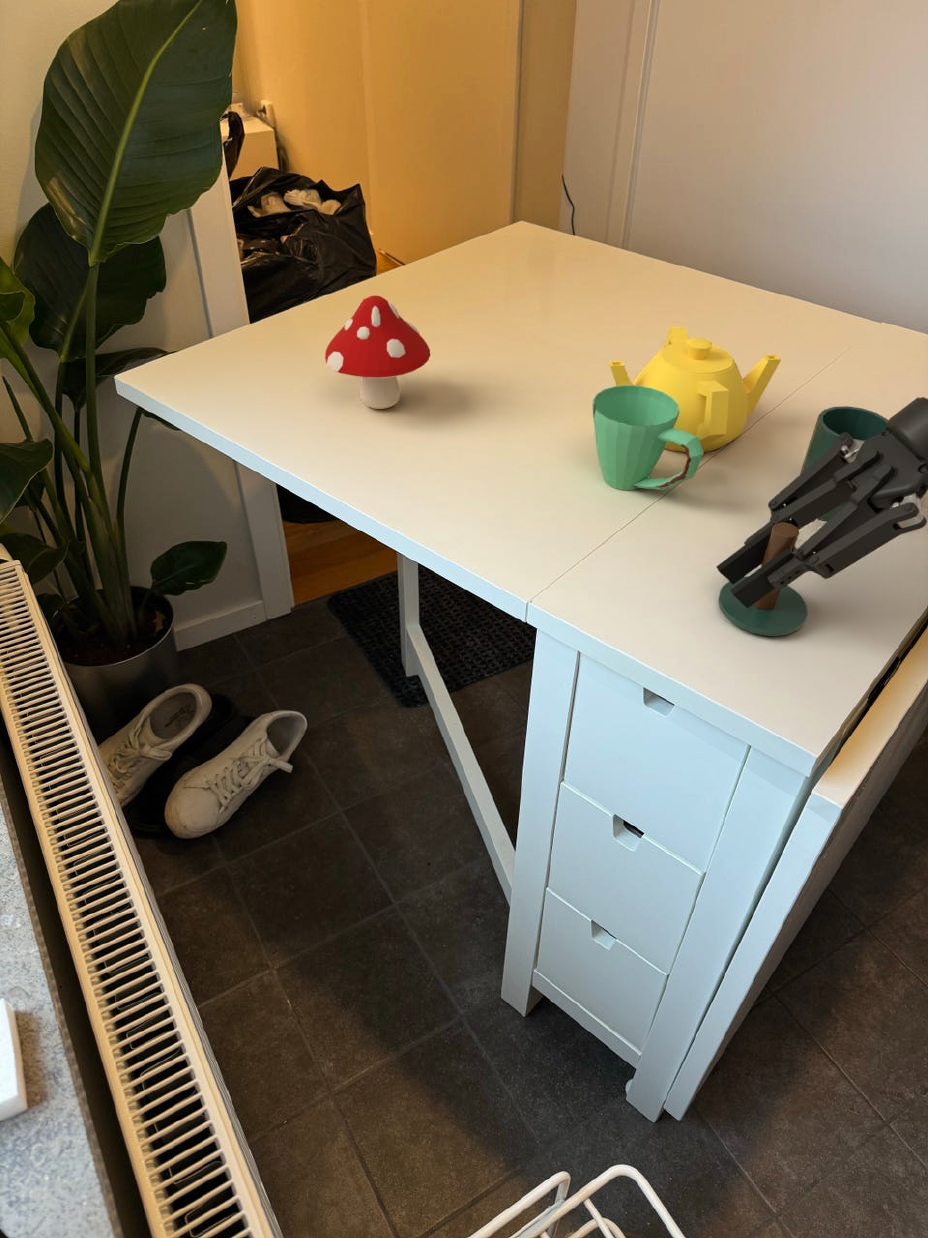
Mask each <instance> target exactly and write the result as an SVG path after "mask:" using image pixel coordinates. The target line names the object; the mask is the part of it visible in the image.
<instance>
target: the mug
mask: <svg viewBox="0 0 928 1238" xmlns="http://www.w3.org/2000/svg"><path fill="white" fill-rule="evenodd" d="M591 408H592V417H593V426H594V438H595V439H594V440H595V447H596V451H597V456H598V462H599V466H600V469H601V473H602V476H603V480H604V482H605V483H606V484H607V485H608V486H609V487H611V488H613V489H616V490H620V491H635V490H638V489H650V490H659V491H665V490H667V489H669V488H672V487H674V486H676V485H679V484H681V483H683V482H685V481H687V480H689V479H691V478H693V477H694V476H695V475H696V473H697V472H698V468H699V465H700V463H701V461H702V457H703V455H704V453H705V452H703V449H702V446H701V444H700V441H699V438H698V437H696V436H694V435H692V434H690V433H688V432H685V431H682V430H678V429H674V426H675V423H676V421H677V419H678V416H679V406H678V404H677V402H676V401H675V400H674V399H673V398H672V397H670V396H669V395H667V394H665V393H664V392H661V391H659V390H656V389H653V388H649V387H644V386H635V385H622V386H616V385H614V386H611V387H607V388H604V389H602V390H601V391H599V392H598V393H596V394H595V396H594V398H593V399H592V407H591ZM667 442H671V443H675V444H677V445H679V446H680V447H682V448H684V449H685V450H686V452H685V453H686V456H687V457H686V458H687V459H686V462H685V466H684V468H683V470H681V471H680V472H678V473H677V474H675V475H673V476H671V477H669V478H664V477H650V475H651V474H652V473H653V471H654V469H655V467H656V466H657V464H658V462H659V460H660V459H661V458H662V454H663V453H664V451H665V446H666V443H667Z"/></svg>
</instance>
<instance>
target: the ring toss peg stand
mask: <svg viewBox="0 0 928 1238" xmlns="http://www.w3.org/2000/svg"><path fill="white" fill-rule="evenodd" d="M799 535H800V529H799V530H798V528H797V527H796V526H794V525H792V524H790V523H784V522H781V523H777V524H775V525H774V526H773V529H772V532H771V535H770V539H769V542H768V545H767V549H766V552H765V555H764V558H763V562H762V564H761V565H760V568H761V567H762V566H763V565H765V564H766V563H767V562H769V561H770V560H772V559H773V558H774V557H776V556H777V555H778V554H780V553H781V552H782V551H784V550H785V549H787V548H788V549H789V550H790V551H791V547H792V546H794V547H796V545H797V541H798V539H799ZM748 576H749V575H746V576H744V577H743V578H742V579H740V580H739V581H738V582H736V583H735V584H734V585H733V584H732V583H731V582H730V581H729V580H728V582H726V583H725V584H724V585H723V586H722V588H721V589H720V591H719V595H718V599H717V600H718V606H719V609H720V611H721V613H722V614H723V615H724V616H725V618H726V619H727V620H728V621H729V622H731V623H732V624H734V625H735V626H737V627H739V628H740V629H742V630H745V631H747V632H750V633H753V634H757V635H761V636H769V637H770V636H771V637H779V636H785V635H790V634H793V633H794V632H797V631H798V630H799V629H800V628H801V627H803V625H804V624H805V622H806V619H807V617H808V606H807V603H806V600H805V599H804V598H803V597H802V595H801V594H800V593H799V592H798V591H796V590H795V589H794V588H792V587H791V586H789V584H788V585H787V586H786V587H785V588H783V589H780V590H777V589H776V588H775V589H774V590H772V591H771V592H770V593H768V594H767V595H765V596H764V597H763V598H761V599H760V600H758V601H757V602H756V603H754V604H753V605H751V606H750V607H749V608H746V607H745V606H744V605H743V604H742V603H741V602H740V601H739V600H738V599H737V598H736V597H735V596H734V595H733V594H732V592H731V591H730V590H731V589H732V588H733V587H735V586H736V585H738V584H739V583H740V582H742V581H743V580H744V579H746V578H747V577H748Z"/></svg>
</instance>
